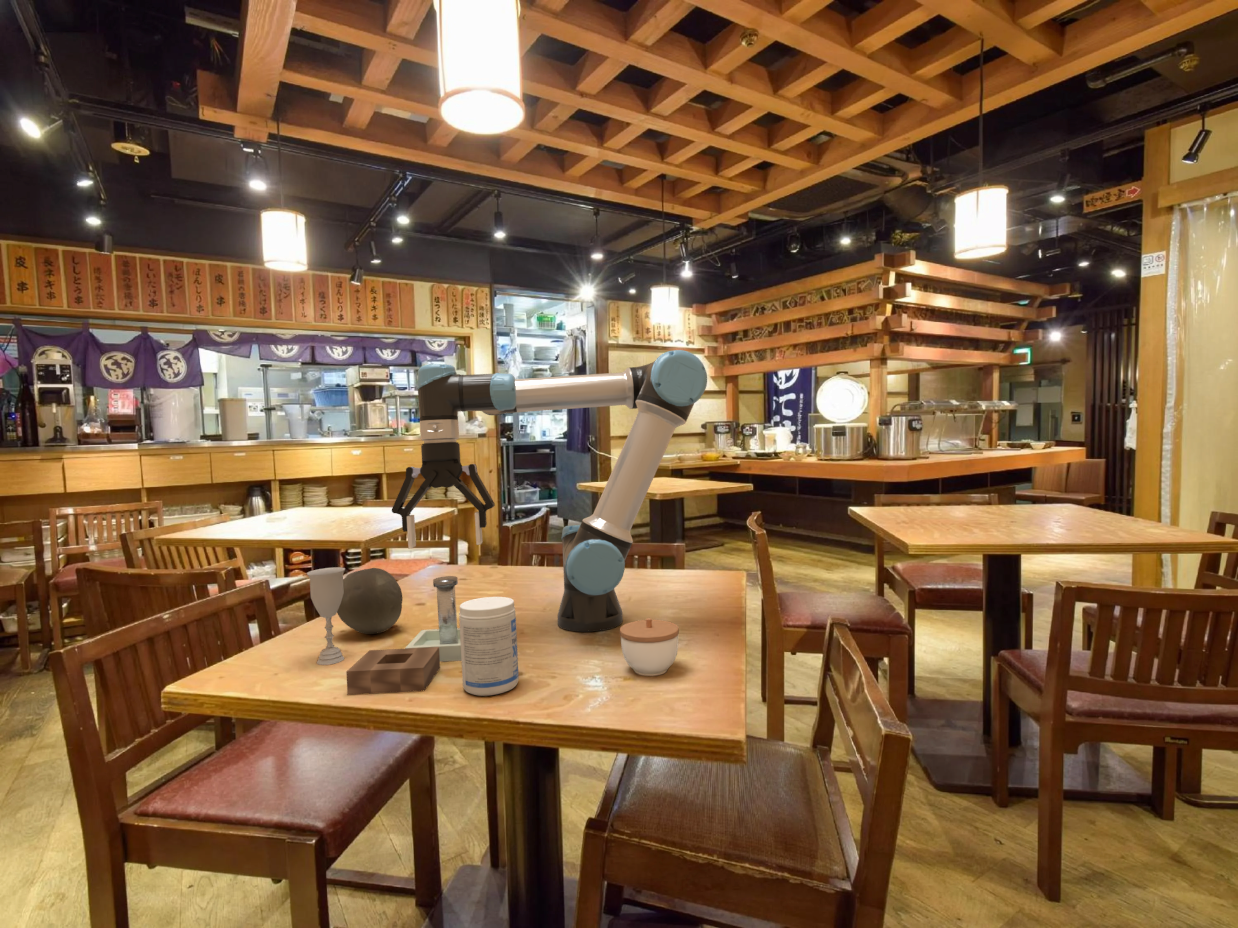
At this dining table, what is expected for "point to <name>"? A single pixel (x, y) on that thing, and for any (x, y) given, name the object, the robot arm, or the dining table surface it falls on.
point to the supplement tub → (488, 645)
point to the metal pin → (447, 609)
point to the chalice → (327, 606)
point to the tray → (437, 644)
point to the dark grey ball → (370, 601)
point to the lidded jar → (649, 645)
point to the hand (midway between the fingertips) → (446, 545)
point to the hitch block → (393, 670)
